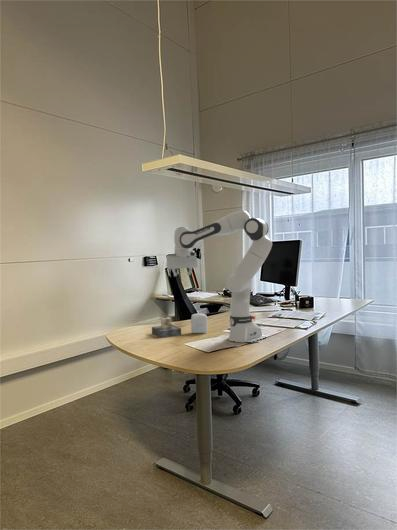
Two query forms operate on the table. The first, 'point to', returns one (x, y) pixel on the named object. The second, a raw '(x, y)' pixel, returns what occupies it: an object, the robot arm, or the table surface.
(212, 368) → the table surface
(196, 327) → the photo printer
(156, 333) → the riser block
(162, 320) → the ash block
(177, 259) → the robot arm
